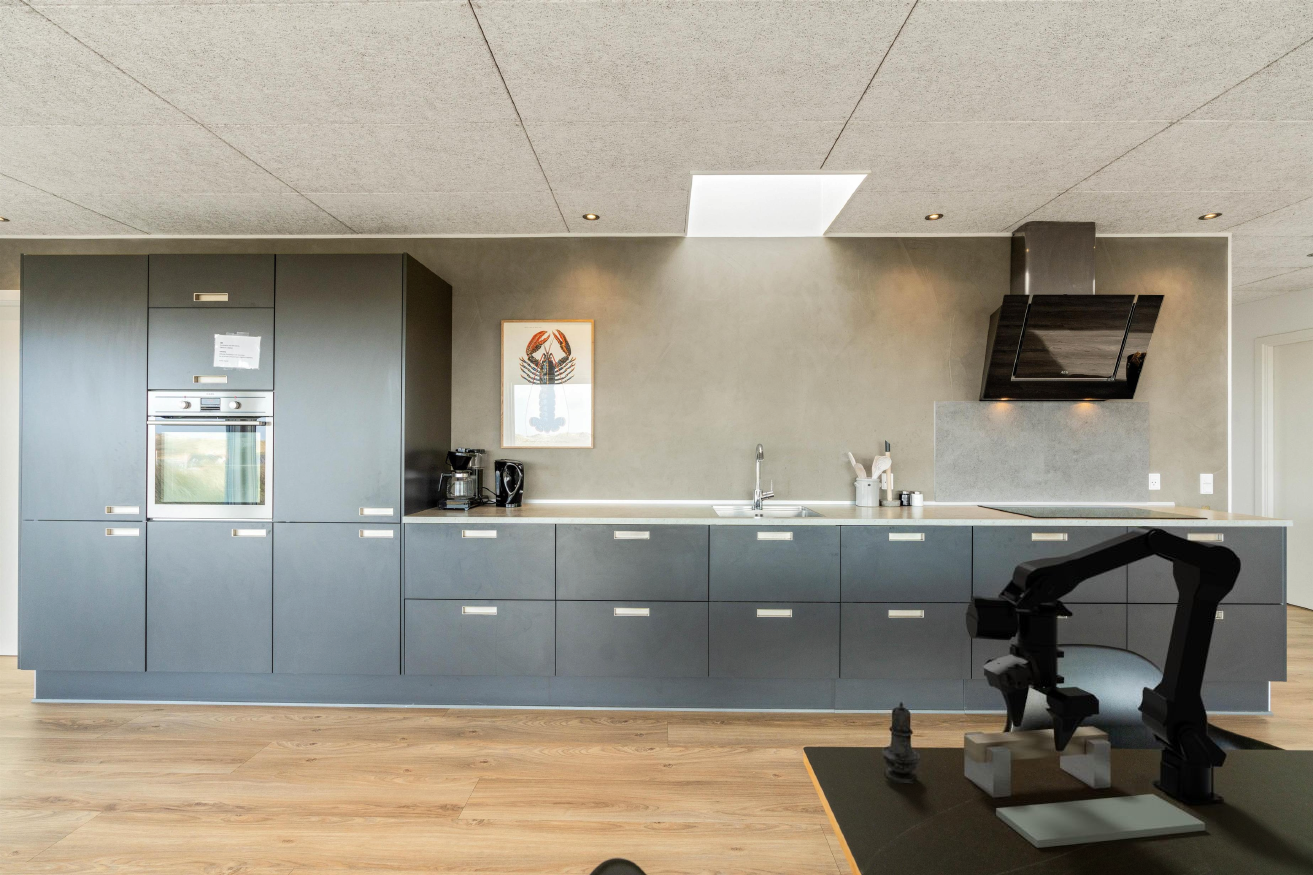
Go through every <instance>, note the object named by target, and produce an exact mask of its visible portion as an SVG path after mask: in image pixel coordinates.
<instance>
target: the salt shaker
mask: <svg viewBox="0 0 1313 875" xmlns="http://www.w3.org/2000/svg"><path fill="white" fill-rule="evenodd" d="M898 705H899V706H896V707H893V709H892V711H891V726H890V727H889V731H890V732H891V733H890V735H891V737H890V738H891V739H890V745H888V746H885V747H883V748H882V750H881V753H882V755H883V759H884V761H885V763H886V765H887V766H888V767H887V768H886V769H884V770H885V771H884V770H883V775H884V774H885V775H884V777H885V776H887V777H888V778H889V779H890V781H891V780H893V781H892V782H894V781H896V782H895V783H897V782H900V783H899V784H902V783H912V784H915V783H917V782H918V781H917V779H918V780H919V777H917V776H918V775H917V774H916V773H915V772H914V771H915V770H916V769H917V766H918V765H919V761H920V760H921V755H920V754H919V753H918V752H917V751H916V750H914V749H913V748H912V735H913V733H914V732H913V731H914V730H912V729H911V712H910V710H909V709H908V708H906V707H904V704H903V701H901V702H899V703H898ZM885 772H886V773H885ZM887 777H886V778H887ZM888 778H887V779H888ZM916 778H917V779H916ZM889 779H888V780H889ZM916 781H917V782H916ZM914 782H915V783H914Z"/></svg>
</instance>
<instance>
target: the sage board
mask: <svg viewBox="0 0 1313 875" xmlns="http://www.w3.org/2000/svg"><path fill="white" fill-rule="evenodd" d="M995 810H996V811H995V815H996V816H997V817H998V818H999V819H1000V820H1001V821H1003V822H1004V823H1005V824H1006V825H1007V826H1009V827H1011V829H1013V830H1014V831H1015V832H1017V834H1019V835H1020V836H1022V837H1023V838H1024V839H1026V841H1028V842H1029V843H1030V844H1032V845H1033V846H1034V847H1036V849H1037V848H1039V849H1040V848H1049V847H1057V846H1068V845H1078V844H1087V843H1096V842H1105V841H1116V840H1124V839H1125V840H1126V839H1134V838H1144V837H1145V838H1146V837H1154V836H1155V837H1156V836H1163V835H1172V834H1173V835H1174V834H1184V833H1191V832H1201V831H1206V823H1205V822H1203V821H1202V820H1200V819H1198V818H1197V817H1194V816H1192V815H1191V814H1190V813H1188V812H1186V811H1184V810H1182V809H1181V808H1178V807H1177V806H1175V805H1173V804H1172V803H1169V802H1168V801H1166V800H1164V799H1162V797H1159V796H1157V795H1155V794H1153V793H1149V794H1139V795H1130V796H1129V795H1128V796H1127V795H1126V796H1118V797H1107V798H1106V797H1105V798H1096V799H1095V798H1094V799H1086V800H1085V799H1083V800H1073V801H1064V802H1063V801H1060V802H1054V803H1053V802H1051V803H1042V804H1029V805H1017V806H1008V807H998V808H995Z"/></svg>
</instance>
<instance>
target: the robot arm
mask: <svg viewBox="0 0 1313 875" xmlns="http://www.w3.org/2000/svg"><path fill="white" fill-rule="evenodd" d="M1152 556H1156V557H1158V558H1160V559H1164V560H1166V561H1168V562H1171V563H1172V576H1173V579H1174V582H1175V586H1176V588H1177V591H1178V598H1177V604H1176V609H1175V613H1174V618H1173V624H1172V628H1171V633H1170V639H1169V643H1168V644H1169V645H1168V648H1167V653H1166V659H1165V663H1164V668H1163V673H1162V678H1161V681H1160V682H1159V683H1158V684H1157V685H1155V687H1154V688H1150V687H1147V686H1144V687H1143V688H1142V694H1141V695H1142V700H1141V703H1140V705H1139V706H1138V707H1137V710H1138V711H1139V712H1140V713H1141V722H1142V723H1143V724H1144V726H1145V727H1146V729H1148V730H1149V731H1150V732H1151V733H1152V735H1153V738H1154V741H1155V742H1157V743H1159V744H1160V745H1162V746H1164V749H1161V751H1160V752H1161V757H1160V759H1161V760H1159V779H1157V780H1152V781H1151V782H1152V785H1153V786H1154V787H1156V788H1158V789H1160V790H1162V791H1163V792H1166V793H1167V794H1169V795H1171V796H1172V797H1175V798H1177V799H1179V800H1180V801H1182V802H1184V803H1186V804H1188V805H1190V806H1191V805H1203V804H1213V803H1215V804H1216V803H1224V802H1225V797H1224V796H1221V795H1219V794H1217V793H1216V792H1214V791H1215V786H1214V785H1215V783H1214V782H1215V780H1214V779H1215V778H1214V777H1215V773H1214V772H1215V770H1214V769H1215V768H1216V767H1217V768H1222V767H1223V765H1224V763H1225V761H1226V758H1227V753H1226V752H1225V751H1224V750H1223V749H1222V748H1221V747H1220V746H1219V745H1218V744H1217V743H1216V742H1215V741H1213V740H1212V739H1211V738H1210V736H1209V735H1208V714H1207V711H1206V708H1205V705H1204V701H1203V698H1202V688H1203V684H1204V683H1203V682H1204V677H1205V672H1206V666H1207V662H1208V657H1209V651H1210V648H1211V647H1210V646H1211V642H1212V636H1213V633H1214V627H1215V622H1216V616H1217V612H1218V609H1219V605H1220V603H1221V602H1222V601H1223V600H1224V598H1226V596H1228V594H1230V593H1231V592H1232V591H1233V589H1234V587H1235V585H1236V582H1237V581H1238V580H1237V579H1238V578H1239V575H1240V573H1241V570H1242V562H1241V561H1242V560H1241V558H1239V556H1238V555H1237V554H1236V552H1235V551H1233V550H1232V549H1231V548H1230V547H1227V546H1224V545H1221V544H1220V545H1219V544H1214V543H1210V542H1205V541H1200V540H1191V539H1187V538H1184V537H1181V536H1179V535H1175V534H1173V533H1170V532H1167V531H1166V530H1164V529H1163V528H1157V527H1152V526H1147V525H1145V526H1144V525H1142V526H1138V527H1136V528H1135V529H1133V530H1131V531H1129V532H1126V533H1124V534H1120V535H1118V536H1115V537H1112V538H1111V539H1110V538H1109V539H1107V540H1105V541H1102V542H1099V543H1097V544H1096V543H1095V544H1094V545H1091V546H1088V547H1086V548H1083V549H1080V550H1078V551H1075V552H1073V553H1069V554H1067V555H1062V556H1056V557H1055V556H1054V557H1043V558H1037V559H1033V560H1027V561H1023V562H1021V563H1019V564H1017V565H1016V567H1015V568H1014V571H1013V573H1012V579H1010V581H1009V582H1008V583H1007V584H1006V586H1005V587H1004V588H1003V590H1002V591H1001V592H1000V593H999V594H998V597H984V596H979V595H971V596H970V603H969V604H968V606H967V609H966V611H967V612H965V624H966V629H967V634H968V635H969V637H970V638H971V639H979V640H992V641H993V640H997V641H1010V640H1012V638H1016V636H1017V638H1016V643H1011V644H1010V647H1009V653H1008V655H1005V656H1000V657H998V658H989V659H988V660H987V661H986V662H985V663H984V665H983V666H982V667H983V670H984V671H983V675H984V677H986V680H987V682H988V685H989V686H990V687H994V688H995V689H997V690H998V691H1000V692H1001V695H1002V696H1003V699H1004V702H1005V705H1006V707H1007V711H1008V714H1009V716H1010V720H1011V722H1012V725H1013V727H1015V728H1019V727H1021V725H1022V724H1023V720H1024V716H1025V709H1026V705H1027V700H1028V695H1029V690H1030V689H1032V690H1034V691H1036V692H1038V693H1040V694H1043V695H1045V702H1046V704H1047V705H1048V707H1049V708H1047V707H1046V708H1045V710H1046V712H1047V713H1048V714H1049V716H1050V717H1051V719H1052V724H1053V725H1052V726H1053V728H1052V729H1054V743H1055V749H1056V751H1058V752H1060V751H1064V749H1065V747H1066V746H1067V744H1068V743H1069V741H1070V739H1071V738H1072V736H1073V734H1074V733H1075V731H1076V730H1077V728H1078V727H1080V725H1081V724H1082V723H1083V722H1084V720H1085V719H1086V718H1091V717H1093V716H1094V715H1095V716H1096V715H1097V716H1098V715H1100V700H1099V698H1098V697H1097V696H1096V695H1095V694H1093V693H1091V692H1089V691H1087V690H1084V689H1082V688H1079V687H1078V686H1067V687H1066V686H1064V687H1059V686H1058V685H1059V684H1060V685H1061V684H1065V676H1063V675H1060V674H1059V668H1058V667H1059V659H1064V658H1065V650H1062V649H1059V641H1058V640H1059V639H1058V638H1059V637H1058V636H1059V635H1058V634H1059V631H1058V630H1059V629H1058V627H1059V626H1058V625H1059V624H1058V623H1059V617H1066V618H1067V617H1068V618H1070V617H1073V616H1074V614H1073V612H1072V611H1071V610H1069V609H1068V608H1067V607H1066V606H1065V604H1064V603H1063V602H1062V601H1061V600H1060V599H1061V598H1063V597H1064V596H1067V595H1069V594H1070V593H1071V592H1073V591H1074V590H1075V589H1076V587H1078V586H1079V585H1080V584H1081V583H1083V582H1085V581H1087V580H1090V579H1092V578H1094V577H1097V576H1100V575H1103V574H1105V573H1106V574H1107V573H1108V572H1111V571H1114V570H1116V569H1119V568H1122V567H1124V566H1128V565H1129V564H1133V563H1135V562H1138V561H1141V560H1144V559H1146V558H1149V557H1152Z"/></svg>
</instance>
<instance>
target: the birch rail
mask: <svg viewBox="0 0 1313 875" xmlns="http://www.w3.org/2000/svg"><path fill="white" fill-rule="evenodd" d="M1090 739H1104V740H1106V741H1108V742H1109V733H1107V732H1105V731H1104V730H1101V729H1100V728H1097V727H1095V726H1079V727H1078V728H1077V730H1076V731H1075V733H1074V734H1073V736H1072V738H1071V739H1070V741H1069V743H1068V744H1067V746H1066V747H1065V749H1064V751H1060V752H1058V751H1056V749H1055V743H1054V729H1053V728H1051V729H1039V730H1038V729H1037V730H1022V731H1021V730H1019V731H1007V732H1006V731H1005V732H993V733H992V732H991V733H984V734H974V735H965V734H964V735H963V755H964V756H965V755H966V756H968V757H969V758H970V759H972V760H973V761H975V762H976V763H979V762H986V747H993V746H1005V747H1006V748H1008V749H1009V750H1011V761H1013V760H1015V761H1016V760H1017V761H1018V760H1027V759H1028V760H1029V759H1041V758H1042V759H1043V758H1055V757H1060V756H1070V755H1083V754H1086V740H1090Z"/></svg>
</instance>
